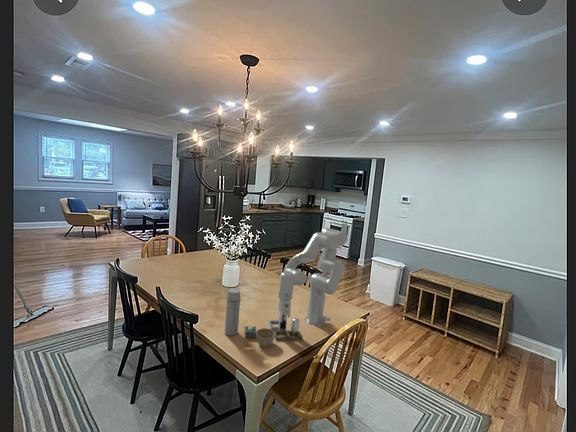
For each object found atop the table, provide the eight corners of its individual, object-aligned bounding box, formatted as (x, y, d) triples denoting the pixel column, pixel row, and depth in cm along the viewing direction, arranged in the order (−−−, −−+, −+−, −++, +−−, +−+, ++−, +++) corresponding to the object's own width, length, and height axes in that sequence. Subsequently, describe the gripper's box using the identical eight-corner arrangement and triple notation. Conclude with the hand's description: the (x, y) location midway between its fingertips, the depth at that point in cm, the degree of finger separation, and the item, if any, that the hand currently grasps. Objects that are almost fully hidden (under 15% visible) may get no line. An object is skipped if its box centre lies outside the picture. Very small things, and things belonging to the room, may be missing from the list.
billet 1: (284, 328, 172) (286, 312, 170) (285, 332, 168) (287, 315, 166) (277, 328, 171) (279, 311, 170) (278, 332, 167) (279, 315, 166)
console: (255, 333, 173) (255, 326, 173) (256, 338, 168) (256, 332, 167) (244, 333, 172) (245, 326, 172) (245, 339, 166) (245, 332, 166)
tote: (282, 324, 186) (282, 320, 186) (284, 331, 178) (284, 327, 178) (268, 324, 184) (269, 320, 184) (270, 331, 177) (270, 327, 176)
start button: (253, 331, 171) (253, 326, 171) (253, 334, 169) (253, 329, 168) (247, 331, 171) (248, 326, 170) (247, 334, 168) (248, 329, 167)
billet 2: (296, 334, 174) (298, 317, 172) (298, 338, 170) (300, 321, 168) (289, 334, 173) (291, 317, 172) (291, 338, 169) (292, 321, 168)
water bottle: (221, 331, 172) (224, 289, 168) (234, 328, 176) (237, 286, 173) (229, 339, 164) (232, 295, 161) (242, 335, 169) (245, 293, 165)
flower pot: (269, 353, 156) (270, 340, 155) (251, 347, 159) (252, 334, 158) (277, 343, 165) (278, 331, 164) (260, 338, 168) (261, 326, 167)
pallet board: (298, 334, 176) (299, 330, 176) (301, 341, 169) (301, 337, 169) (273, 335, 173) (274, 330, 173) (275, 342, 166) (276, 337, 166)
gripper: (295, 301, 159) (291, 334, 162) (289, 288, 175) (286, 318, 178) (281, 301, 158) (277, 334, 160) (276, 288, 174) (273, 318, 176)
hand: (282, 325), depth 169 cm, fingers closed on billet 1, 4 cm apart
